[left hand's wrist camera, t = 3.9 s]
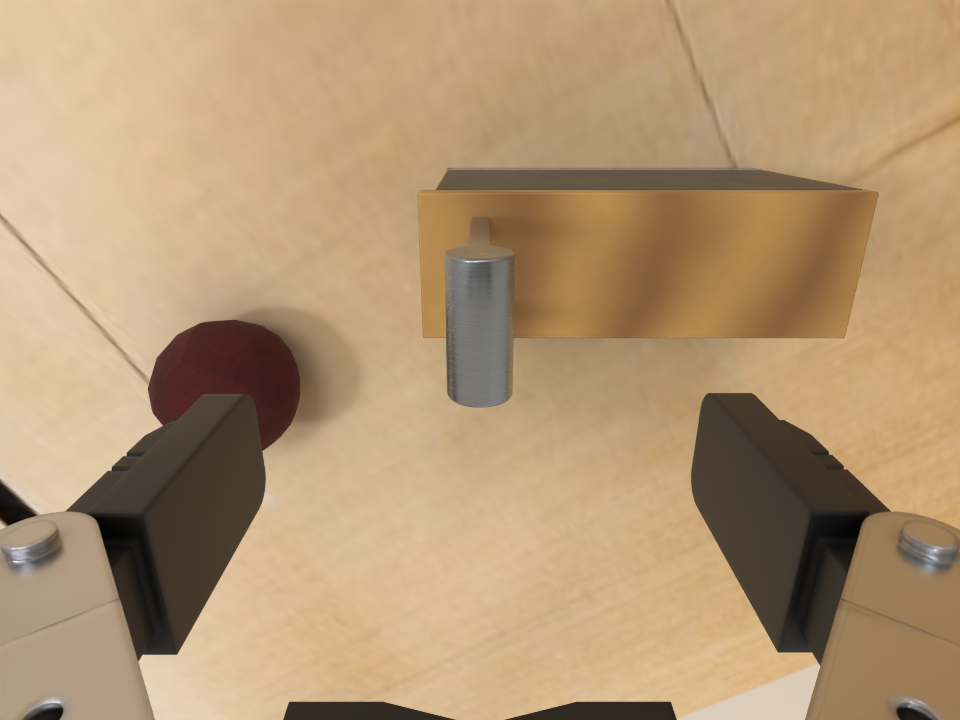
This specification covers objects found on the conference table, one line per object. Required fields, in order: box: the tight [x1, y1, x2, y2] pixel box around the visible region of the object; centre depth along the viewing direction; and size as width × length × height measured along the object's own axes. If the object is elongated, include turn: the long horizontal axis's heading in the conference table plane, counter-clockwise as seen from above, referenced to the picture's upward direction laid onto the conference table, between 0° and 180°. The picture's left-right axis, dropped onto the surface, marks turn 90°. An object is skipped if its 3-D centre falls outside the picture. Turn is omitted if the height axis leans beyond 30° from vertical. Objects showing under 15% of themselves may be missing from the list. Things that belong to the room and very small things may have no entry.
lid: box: [418, 190, 878, 407], centre depth 20 cm, size 17×6×9 cm, turn 90°
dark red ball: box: [148, 320, 300, 451], centre depth 33 cm, size 7×8×7 cm
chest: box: [436, 168, 862, 190], centre depth 29 cm, size 16×6×10 cm, turn 90°
